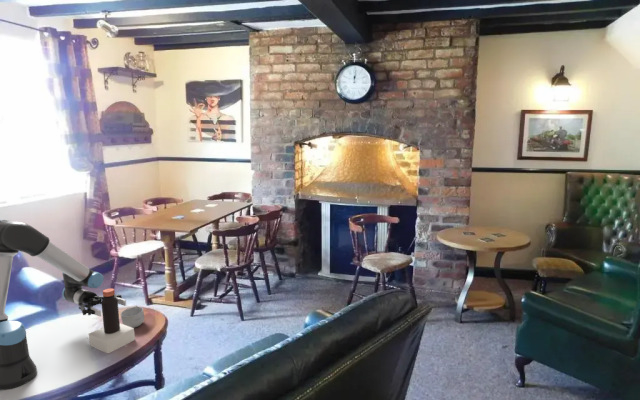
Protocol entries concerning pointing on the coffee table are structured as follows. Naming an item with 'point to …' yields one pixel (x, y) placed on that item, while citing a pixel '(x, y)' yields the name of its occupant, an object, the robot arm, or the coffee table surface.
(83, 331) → the coffee table surface
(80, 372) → the coffee table surface
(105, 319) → the vinegar
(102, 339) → the riser
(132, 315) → the teacup
